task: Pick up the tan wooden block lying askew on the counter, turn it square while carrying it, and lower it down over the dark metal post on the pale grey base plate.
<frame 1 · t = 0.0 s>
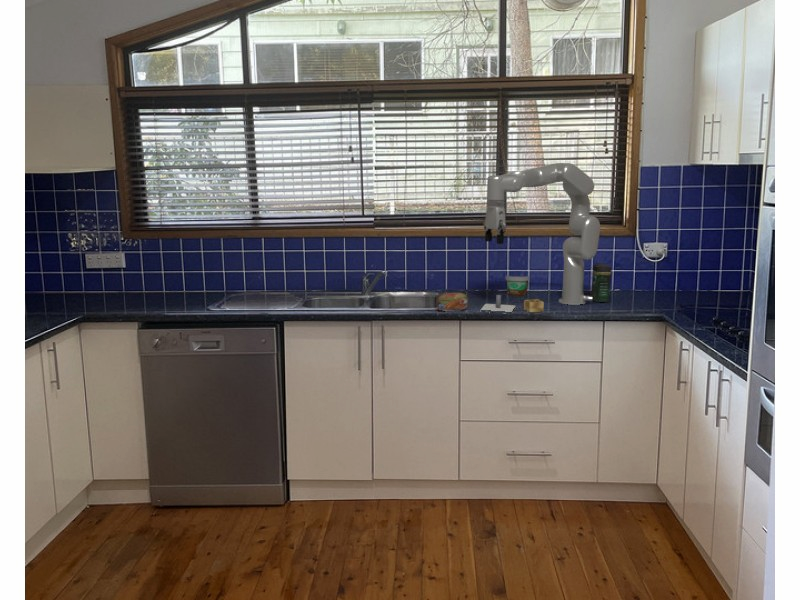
hand: (494, 242, 309), 31 cm above the counter, tool pointing down, fingers open, 9 cm apart
food container: (516, 295, 351), on the counter
tan wooden block: (533, 311, 313), on the counter
post base: (498, 309, 317), on the counter
coffee jar: (600, 301, 337), on the counter
tin: (451, 311, 315), on the counter
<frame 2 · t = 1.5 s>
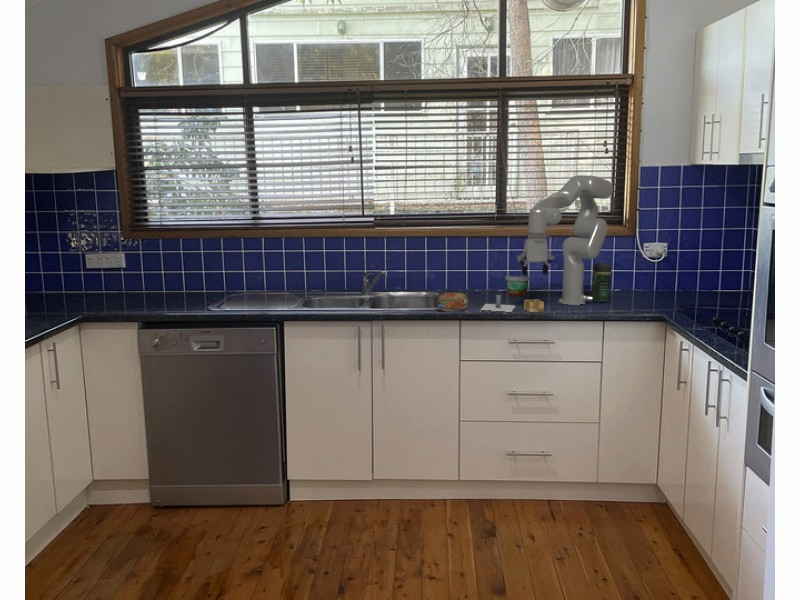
hand: (534, 274, 309), 17 cm above the counter, tool pointing down, fingers open, 9 cm apart
nothing on the counter moved.
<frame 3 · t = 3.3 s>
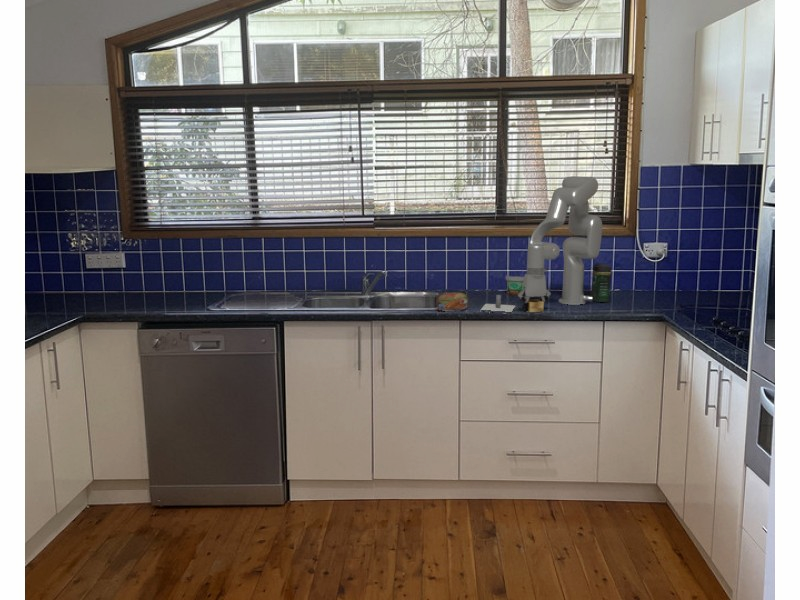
hand: (533, 310, 312), 1 cm above the counter, tool pointing down, fingers closed on tan wooden block, 6 cm apart
tan wooden block: (533, 311, 313), on the counter, touching gripper
everything else where it was.
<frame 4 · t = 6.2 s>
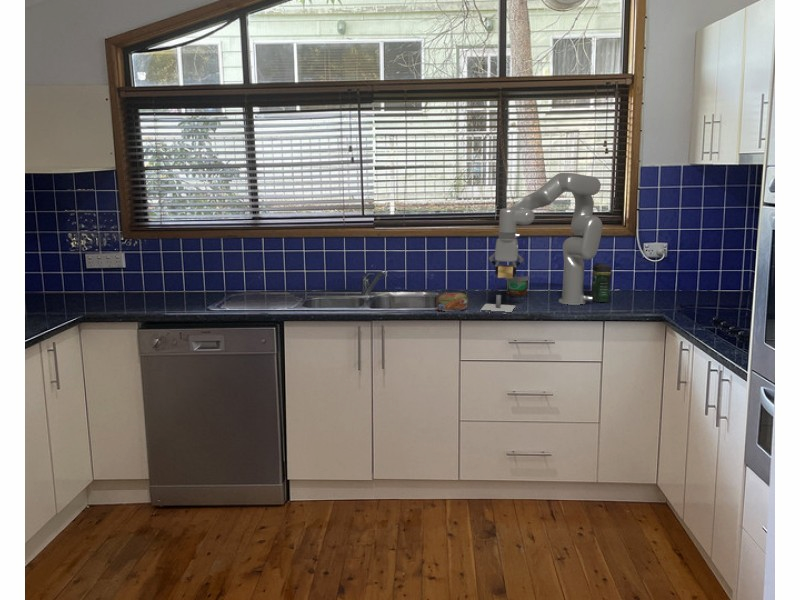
hand: (505, 275, 313), 16 cm above the counter, tool pointing down, fingers closed on tan wooden block, 6 cm apart
tan wooden block: (505, 276, 313), point 15 cm above the counter, touching gripper
everything else where it was.
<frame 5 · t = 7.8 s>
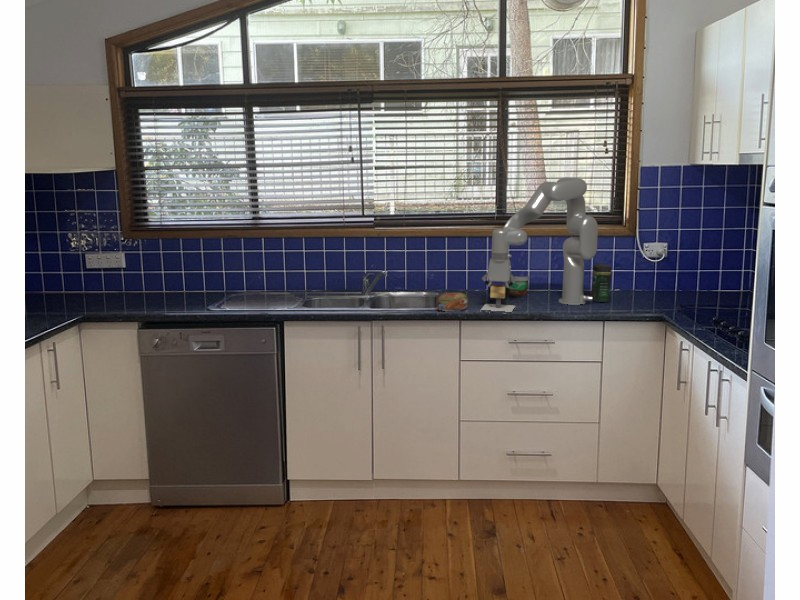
hand: (498, 295, 316), 7 cm above the counter, tool pointing down, fingers closed on tan wooden block, 6 cm apart
tan wooden block: (498, 296, 316), point 6 cm above the counter, touching gripper
everything else where it was.
when the fingers open (3 cm above the counter, at t = 9.0 s): tan wooden block drops 1 cm, resting on post base.
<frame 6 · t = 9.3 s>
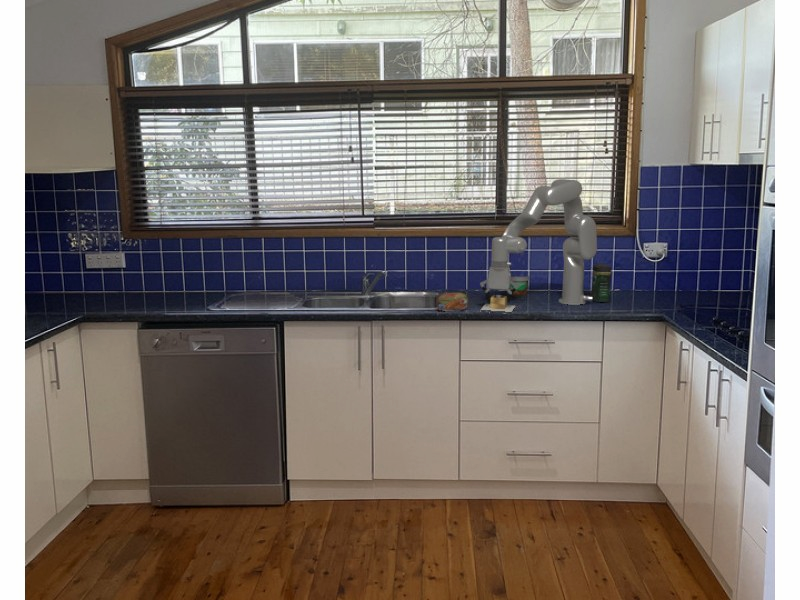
hand: (498, 301, 316), 4 cm above the counter, tool pointing down, fingers open, 9 cm apart
tan wooden block: (498, 307, 317), point 1 cm above the counter, touching post base
everything else where it was.
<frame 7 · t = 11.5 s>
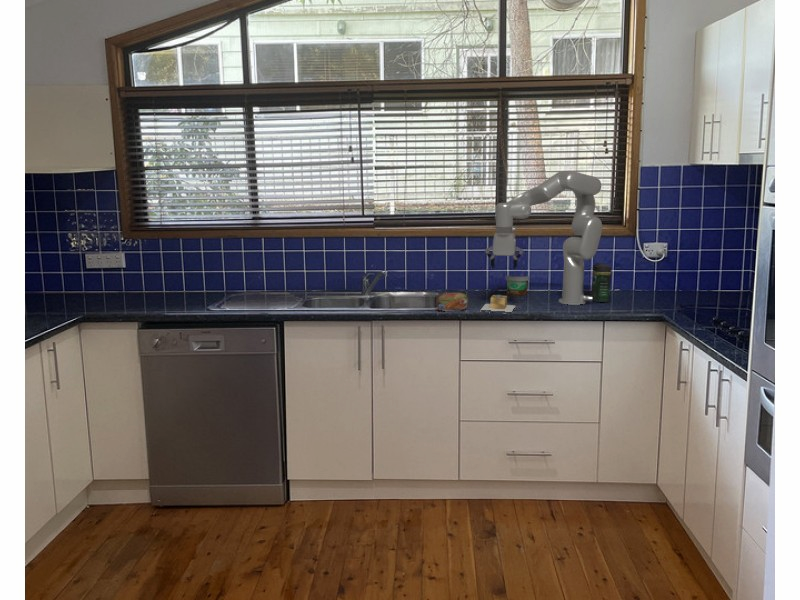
hand: (503, 268, 315), 19 cm above the counter, tool pointing down, fingers open, 9 cm apart
nothing on the counter moved.
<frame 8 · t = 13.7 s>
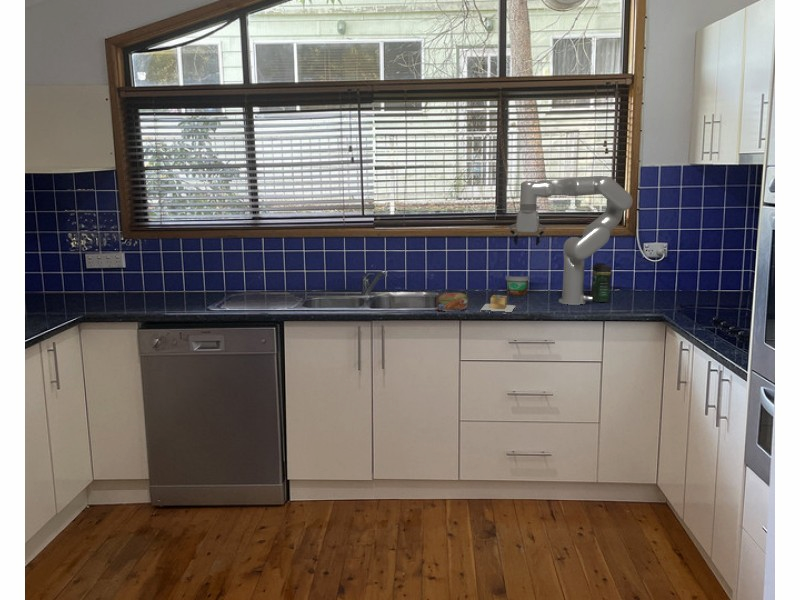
hand: (526, 244, 326), 28 cm above the counter, tool pointing down, fingers open, 9 cm apart
nothing on the counter moved.
at the end: tan wooden block 0.1 cm from the post base (horizontally); tan wooden block point 1.0 cm above the counter; tan wooden block tilted 0° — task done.
